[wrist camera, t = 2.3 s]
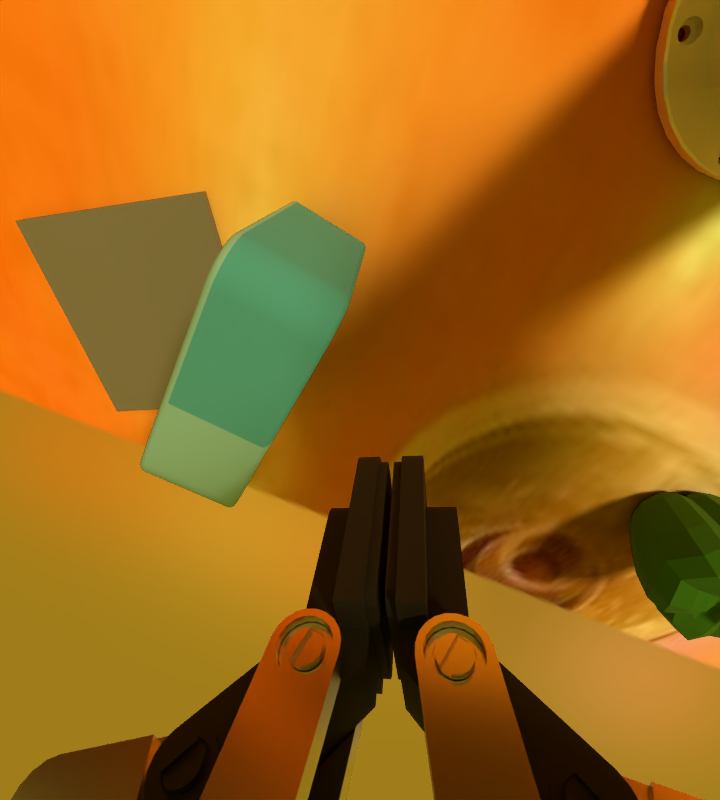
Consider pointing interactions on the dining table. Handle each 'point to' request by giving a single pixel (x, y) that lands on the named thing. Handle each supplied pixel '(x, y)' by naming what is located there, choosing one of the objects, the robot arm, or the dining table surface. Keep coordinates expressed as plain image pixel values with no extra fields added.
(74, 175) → the dining table surface
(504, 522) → the dining table surface
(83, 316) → the mat
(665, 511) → the bell pepper
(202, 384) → the teal square box
